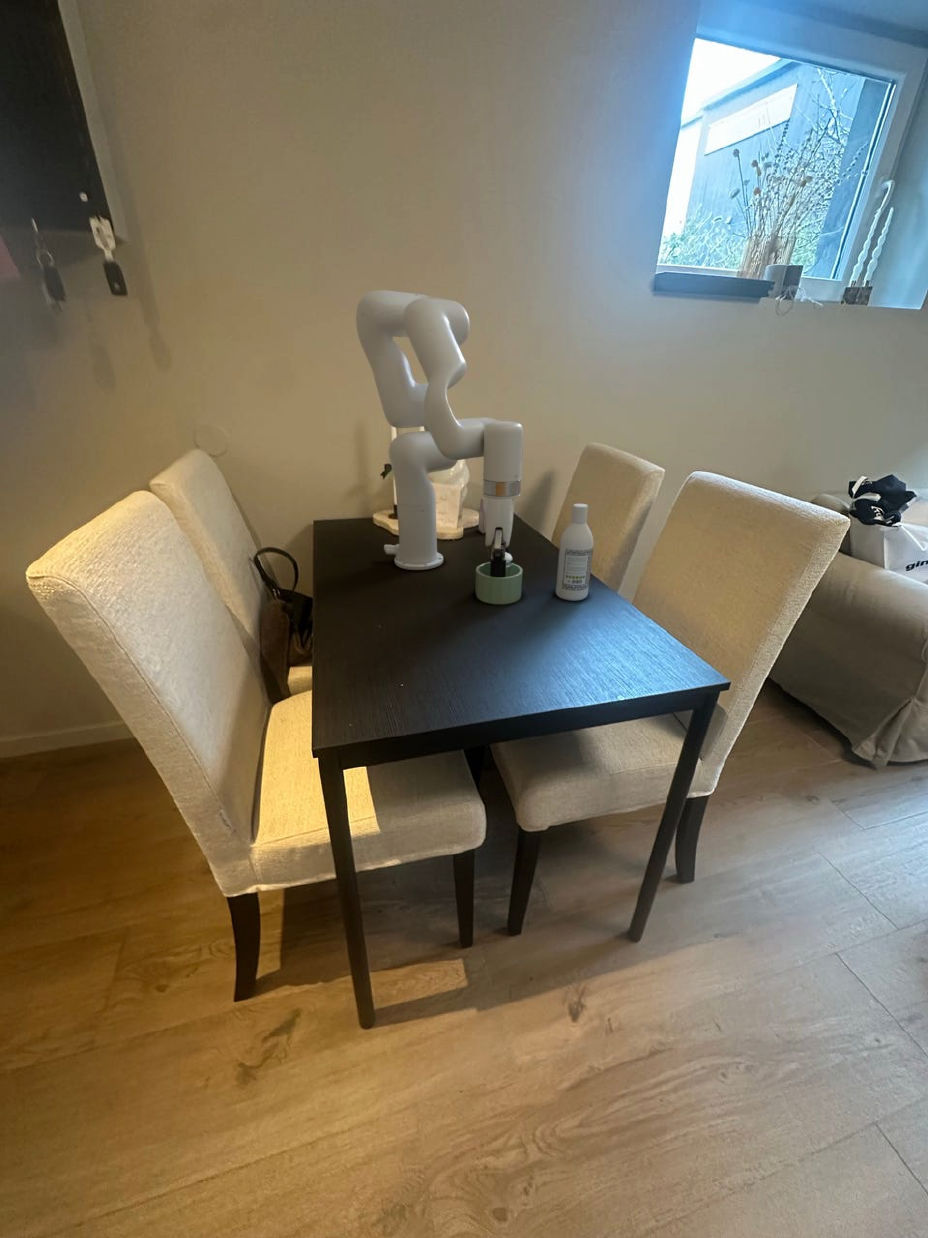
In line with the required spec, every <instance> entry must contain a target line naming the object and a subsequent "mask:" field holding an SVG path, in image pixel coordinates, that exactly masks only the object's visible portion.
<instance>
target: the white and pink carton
mask: <svg viewBox="0 0 928 1238" xmlns="http://www.w3.org/2000/svg"><path fill="white" fill-rule="evenodd" d="M487 502H488V498H481V499H480V504H479V509H478V531H479V532H480V533H482V534H486V517H487Z"/></svg>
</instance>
